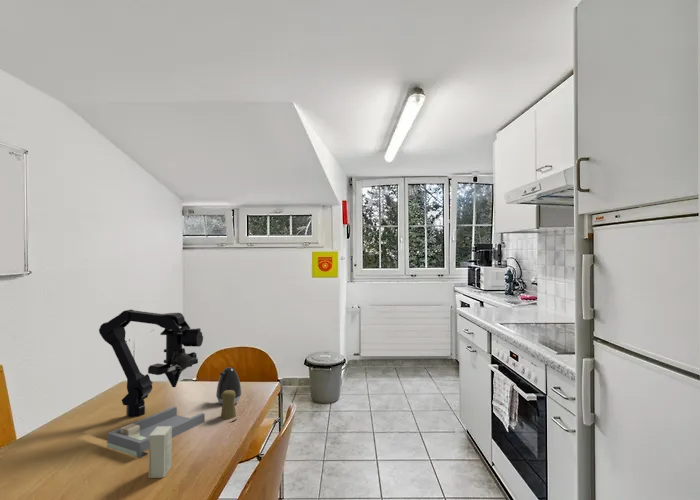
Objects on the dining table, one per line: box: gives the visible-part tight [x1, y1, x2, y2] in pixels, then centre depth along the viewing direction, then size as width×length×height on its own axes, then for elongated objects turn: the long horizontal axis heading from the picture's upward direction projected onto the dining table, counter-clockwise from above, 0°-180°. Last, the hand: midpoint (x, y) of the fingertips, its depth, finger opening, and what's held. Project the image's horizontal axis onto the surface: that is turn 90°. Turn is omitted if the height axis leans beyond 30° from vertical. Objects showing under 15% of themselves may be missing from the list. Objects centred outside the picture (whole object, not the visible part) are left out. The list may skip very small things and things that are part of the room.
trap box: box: [106, 406, 206, 459], centre depth 139 cm, size 16×26×4 cm, turn 154°
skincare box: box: [148, 426, 173, 479], centre depth 116 cm, size 6×4×12 cm
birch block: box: [120, 423, 140, 439], centre depth 134 cm, size 4×4×4 cm
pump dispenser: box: [215, 366, 242, 405], centre depth 170 cm, size 10×10×15 cm
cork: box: [220, 390, 237, 424], centre depth 153 cm, size 6×6×11 cm
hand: (174, 386), depth 155 cm, fingers closed
